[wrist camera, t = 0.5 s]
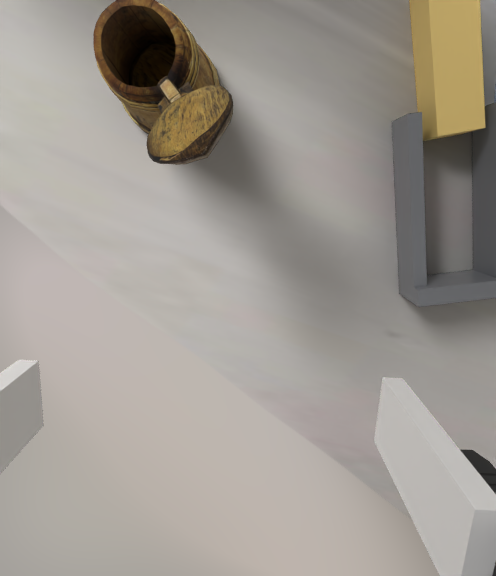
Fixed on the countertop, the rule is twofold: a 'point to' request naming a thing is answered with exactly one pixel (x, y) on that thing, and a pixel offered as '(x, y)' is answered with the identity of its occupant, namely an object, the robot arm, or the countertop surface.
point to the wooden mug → (162, 80)
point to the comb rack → (411, 217)
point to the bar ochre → (448, 66)
